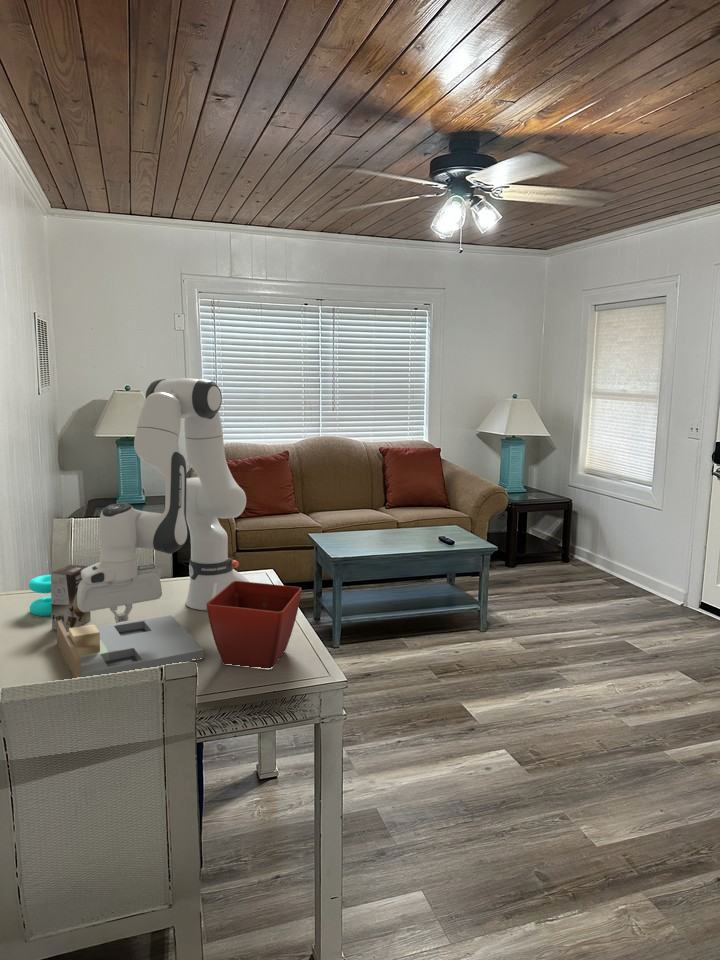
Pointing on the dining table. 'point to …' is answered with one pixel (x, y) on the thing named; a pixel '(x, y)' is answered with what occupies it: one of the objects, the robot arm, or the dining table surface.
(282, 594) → the plant pot
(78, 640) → the oak block
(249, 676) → the dining table surface
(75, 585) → the coffee box
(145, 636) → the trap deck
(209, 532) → the robot arm
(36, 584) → the cyan spool
